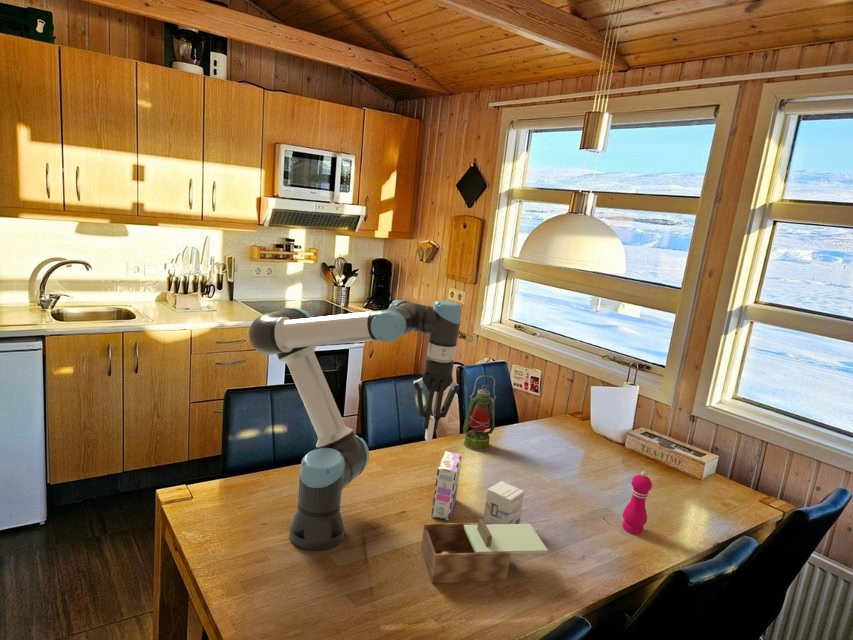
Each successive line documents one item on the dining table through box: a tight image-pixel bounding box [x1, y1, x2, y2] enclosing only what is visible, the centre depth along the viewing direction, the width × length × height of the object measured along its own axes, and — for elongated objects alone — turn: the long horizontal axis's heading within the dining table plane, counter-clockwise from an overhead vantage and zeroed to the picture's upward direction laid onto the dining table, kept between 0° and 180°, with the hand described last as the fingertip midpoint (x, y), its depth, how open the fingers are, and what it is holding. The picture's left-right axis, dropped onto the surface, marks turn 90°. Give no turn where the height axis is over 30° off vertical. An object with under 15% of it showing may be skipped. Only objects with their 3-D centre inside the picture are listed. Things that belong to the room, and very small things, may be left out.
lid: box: [463, 518, 549, 555], centre depth 151 cm, size 20×12×4 cm, turn 102°
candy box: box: [431, 450, 463, 522], centre depth 177 cm, size 14×6×16 cm, turn 168°
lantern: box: [462, 374, 497, 452], centre depth 226 cm, size 14×11×30 cm
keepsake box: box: [420, 522, 512, 584], centre depth 150 cm, size 20×14×9 cm
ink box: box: [482, 480, 525, 524], centre depth 172 cm, size 8×8×12 cm
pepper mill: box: [621, 470, 653, 535], centre depth 177 cm, size 7×7×20 cm
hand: (428, 439), depth 156 cm, fingers closed
